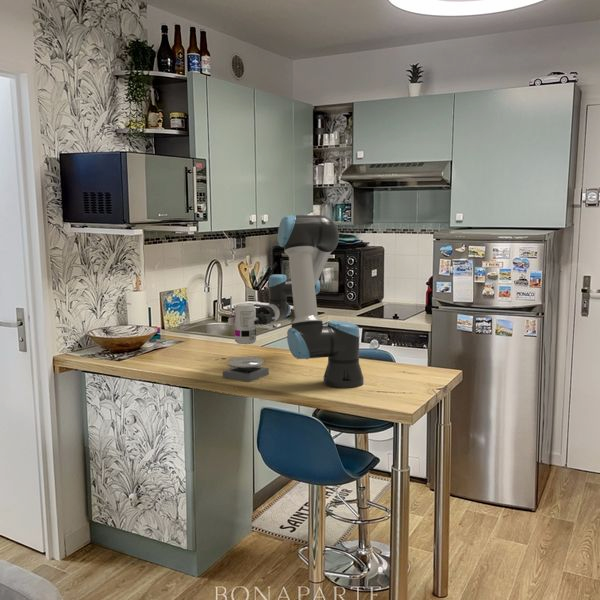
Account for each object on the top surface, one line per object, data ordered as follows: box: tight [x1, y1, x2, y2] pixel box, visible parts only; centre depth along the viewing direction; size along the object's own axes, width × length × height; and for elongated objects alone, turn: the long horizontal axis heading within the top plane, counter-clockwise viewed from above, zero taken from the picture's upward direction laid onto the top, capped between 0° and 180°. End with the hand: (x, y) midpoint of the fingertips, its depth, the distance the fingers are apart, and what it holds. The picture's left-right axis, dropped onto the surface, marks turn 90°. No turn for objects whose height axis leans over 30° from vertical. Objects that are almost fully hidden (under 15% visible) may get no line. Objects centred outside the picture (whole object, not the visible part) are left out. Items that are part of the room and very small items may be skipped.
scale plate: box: [227, 356, 264, 373], centre depth 252 cm, size 14×14×4 cm
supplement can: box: [233, 303, 257, 345], centre depth 250 cm, size 8×8×15 cm
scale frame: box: [222, 366, 270, 383], centre depth 252 cm, size 13×13×3 cm
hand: (239, 323), depth 245 cm, fingers closed on supplement can, 8 cm apart
